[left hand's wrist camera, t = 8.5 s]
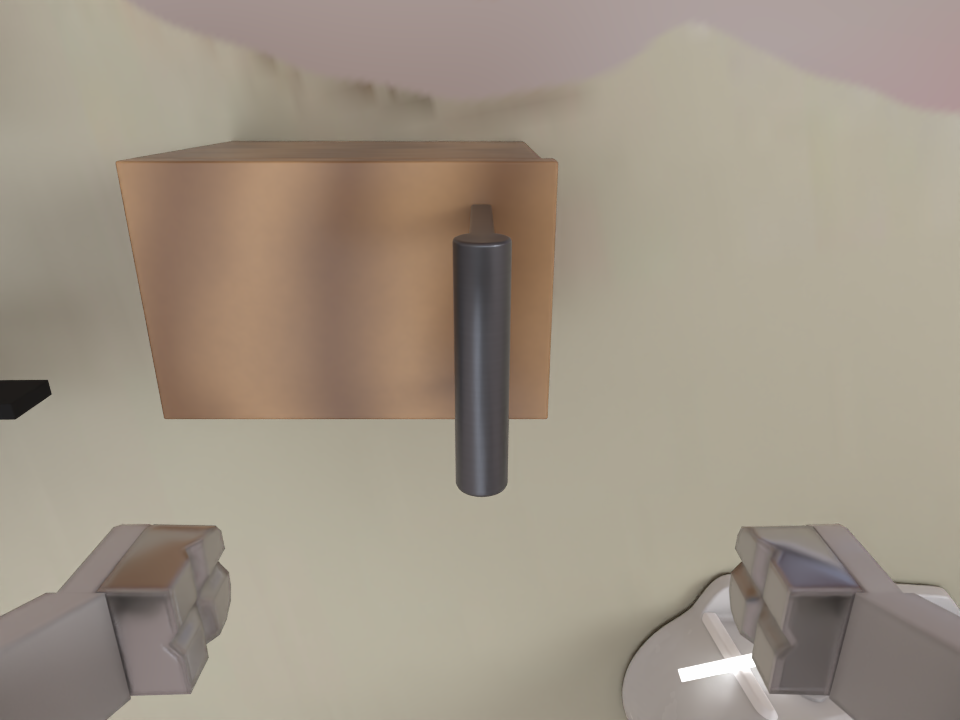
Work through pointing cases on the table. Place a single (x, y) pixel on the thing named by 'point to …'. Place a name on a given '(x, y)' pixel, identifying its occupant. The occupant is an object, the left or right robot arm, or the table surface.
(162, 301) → the lid
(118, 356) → the table surface
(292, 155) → the chest
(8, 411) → the right robot arm
